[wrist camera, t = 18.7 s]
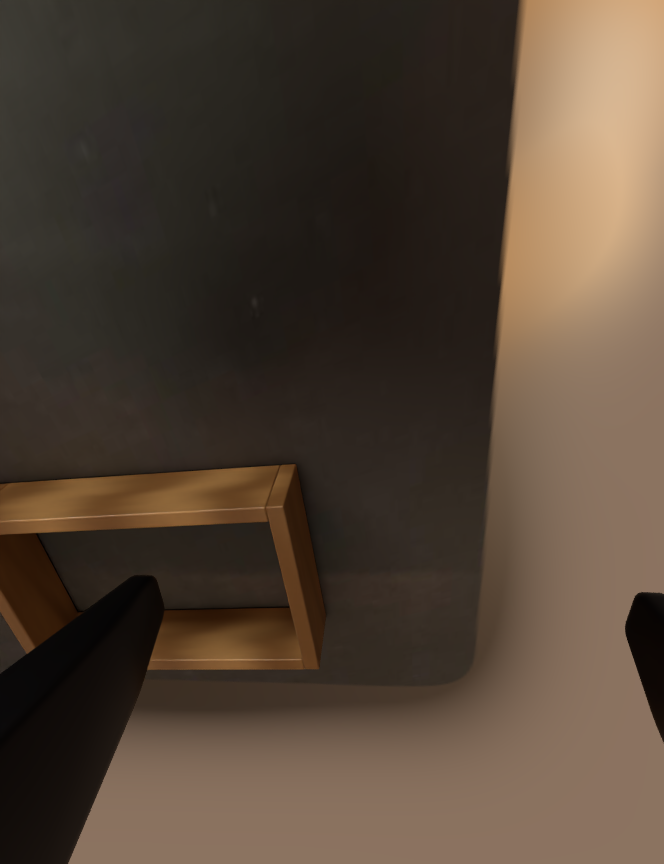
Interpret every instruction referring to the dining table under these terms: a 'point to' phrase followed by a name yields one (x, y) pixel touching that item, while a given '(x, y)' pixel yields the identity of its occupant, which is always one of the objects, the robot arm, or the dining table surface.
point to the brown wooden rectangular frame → (162, 507)
